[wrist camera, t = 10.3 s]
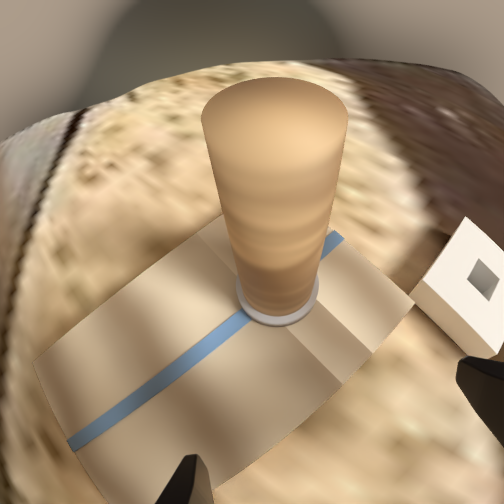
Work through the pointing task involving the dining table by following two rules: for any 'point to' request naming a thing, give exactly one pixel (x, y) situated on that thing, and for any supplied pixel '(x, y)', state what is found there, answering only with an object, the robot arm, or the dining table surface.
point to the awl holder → (466, 291)
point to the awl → (276, 187)
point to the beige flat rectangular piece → (207, 365)
